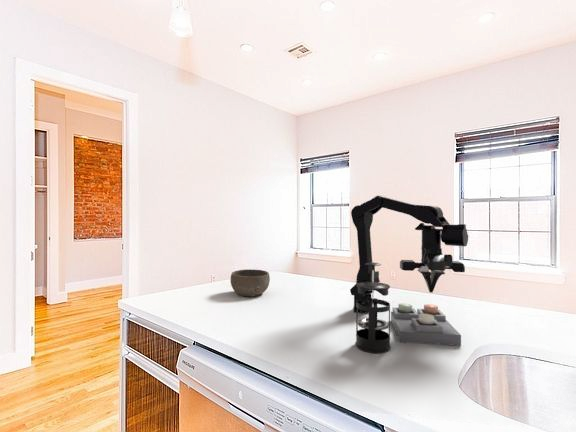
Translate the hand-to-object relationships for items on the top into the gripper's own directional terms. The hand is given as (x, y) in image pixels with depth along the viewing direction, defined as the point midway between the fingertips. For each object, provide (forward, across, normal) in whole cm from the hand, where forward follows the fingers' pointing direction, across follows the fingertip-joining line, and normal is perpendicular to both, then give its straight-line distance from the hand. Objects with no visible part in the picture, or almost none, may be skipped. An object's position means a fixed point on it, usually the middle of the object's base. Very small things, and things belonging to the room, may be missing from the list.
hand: (430, 292), depth 106 cm
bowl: (+11, -70, +31) cm, 77 cm away
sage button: (+6, -8, 0) cm, 10 cm away
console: (+11, -4, -6) cm, 13 cm away
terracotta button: (+6, 0, 0) cm, 6 cm away
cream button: (+6, -4, -11) cm, 13 cm away
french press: (+11, -20, -20) cm, 30 cm away
